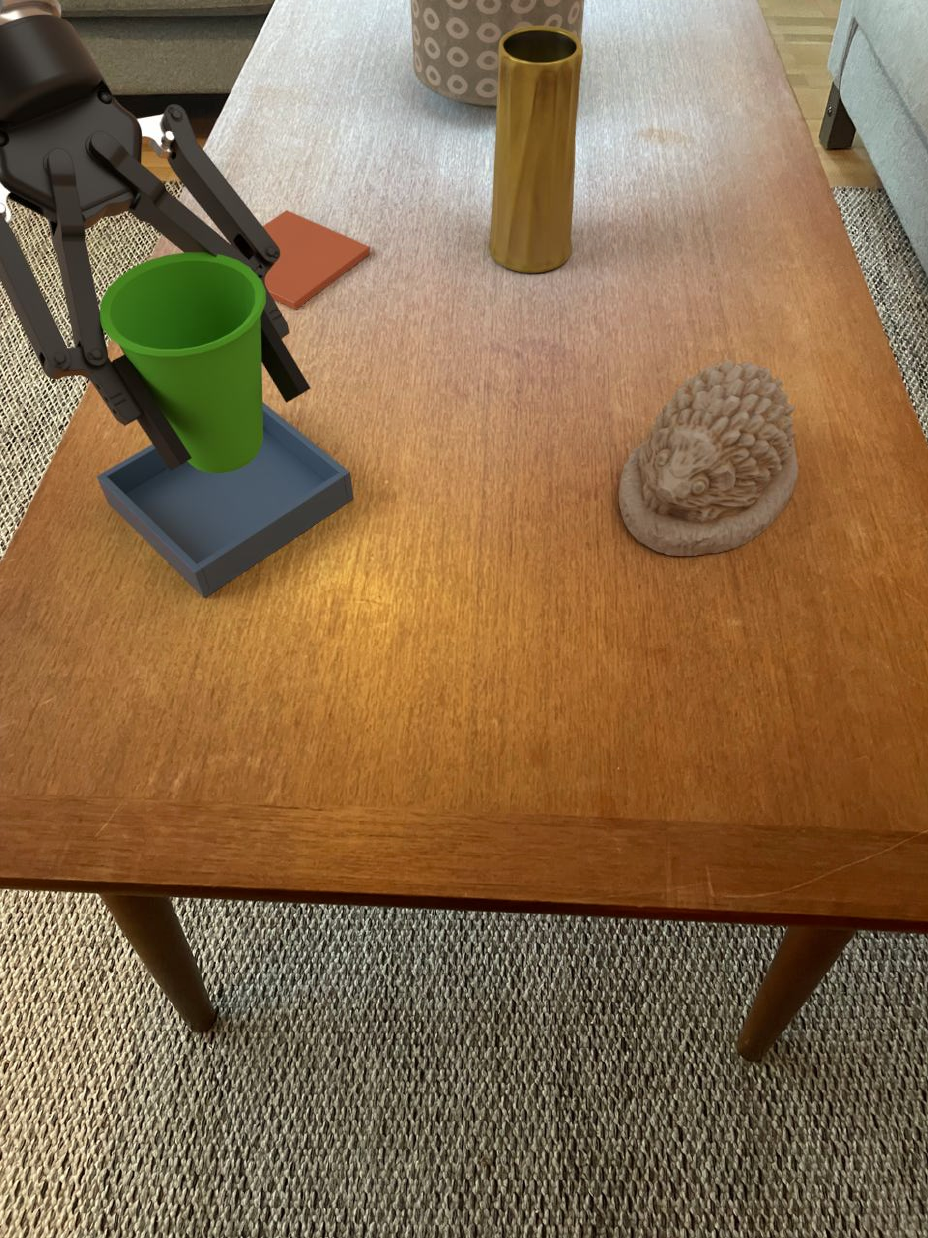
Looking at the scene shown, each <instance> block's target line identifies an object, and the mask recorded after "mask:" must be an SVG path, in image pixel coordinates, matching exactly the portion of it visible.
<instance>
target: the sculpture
mask: <svg viewBox="0 0 928 1238" xmlns="http://www.w3.org/2000/svg"><path fill="white" fill-rule="evenodd" d="M782 388H783V381H782V380H781V379H780V378H774V377H772V374H771V370H770V369H769V368H766V367H765V366H763V365H754V363H753V362H752V361H748V360H746V361H743V362H740V363H739V364H737V363H736V364H735V363H734V361H732V359H725V360H724V361H723V362H719V363H717V365H716V366H714V365H708V366H706V367H705V368H702V369H699V371H698V373H697V374H696V375H694V376H692V377H687V378H685V380H684V382H683V386H680V387H679V388H678V389H677V390H675V392H674V393H673V395H672V398H671V399H670V400H668V401H667V402H666V404H665V405H664V406H662V409H661V411H662V412H661V413H660V412H659V413H657V415H656V417H655V424H653V425H652V426H651V428H650V431H649V432H648V435H647V438H646V440H645V441H642V442H641V443H640V444H639V445H638V446H636V447H634V448H633V450H632V451H631V453H630V454H629V457H628V458H627V461H626V463H624V465H623V469H622V472H621V475H620V480H619V486H618V503H619V506H618V507H619V511H620V514H621V516H622V520H623V522H624V524H625V526H626V528H627V530H628V531H629V532H630V534H631V535H632V536H633V537H634V538H635V540H637V541H638V542H639V543H641V544H643V545H644V546H646V547H647V548H649V549H650V550H651V549H652V550H653V551H655V552H658V553H660V554H665V555H666V556H676V557H692V556H694V557H697V556H698V555H699V556H702V555H705V554H719V553H724V552H726V551H730V550H734V549H737V548H738V547H740V546H742V545H746V543H748V542H750V541H752V540H753V539H754V538H757V537H758V536H759V535H760V534H761V533H763V532H765V531H766V529H767V528H768V527H770V526H771V525H772V524H773V522H774V521H775V520H776V519H777V518H778V516H780V515H781V514H782V512H783V510H784V509H785V507H786V506H787V505H788V503H789V500H790V499H791V497H792V496H793V493H794V491H795V489H796V486H797V482H798V476H799V471H800V470H799V469H800V468H799V463H798V459H797V455H796V448H795V444H794V440H795V439H793V438H794V437H795V436H796V430H794V429H793V428H792V427H793V425H794V421H793V418H792V417H791V414H792V413H793V411H794V410H795V408H794V406H793V404H791V403H789V402H788V399H789V398H788V397H789V396H788V394H786V391H783V390H782Z"/></svg>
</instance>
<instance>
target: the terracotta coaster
mask: <svg viewBox="0 0 928 1238" xmlns="http://www.w3.org/2000/svg"><path fill="white" fill-rule="evenodd" d="M262 226H263V228H264V229H265V230H266V232H267V233H268V234H269V235H270V237H271V238H272V239H273V241H274V242H275V243H276V244H277V246H278V247H279V249H280V258H279V259H278V260H277V261H276V262H275V264H274V265H273V266H272V267H271V269H270V270H269V271H268V272H267V274H266V275H265V286H266V288H267V290H268V291H269V293H270V295H271V296H272V298H273V300H274V301H276V302H278V303H280V304H282V305H284V306H287V307H288V308H290V309H292V310H297V309H298V308H300V307H302V306H303V305H305V303H307V302H308V301H309V300H311V299H312V298H313V297H315V296H316V295H317V294H319V293H320V292H321V291H323V290H324V289H325V288H327V287H328V286H329V285H331V284H332V283H333V282H335V281H336V280H337V279H339V278H340V277H341V276H343V275H344V274H345V273H347V272H348V271H349V270H351V269H352V268H353V267H355V266H356V265H358V263H360V262H361V261H362V260H364V259H365V258H367V257H368V256H369V255H371V247H370V246H369V245H367V244H364V243H362V242H360V241H358V240H355V239H353V238H351V237H349V236H346V235H344V234H342V233H339V232H337V231H336V230H332V229H330V228H328V227H326V226H323V225H321V224H319V223H317V222H315V221H312V220H310V219H308V218H306V217H303V216H301V215H298V214H297V213H294V212H292V211H290V210H288V209H286V210H284V211H283V212H282V213H280V214H279V215H277V216H276V217H274V218H273V219H271V220H270V221H268V222H267V223H265V224H263V225H262Z"/></svg>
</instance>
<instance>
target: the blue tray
mask: <svg viewBox="0 0 928 1238" xmlns="http://www.w3.org/2000/svg"><path fill="white" fill-rule="evenodd" d="M262 408H263V442H262V445H261V448H260V450H259V453H258V454H257V456H256V457H255V458H254V459H253V460H252V461H251V462H250V463H249V464H247V465H246V466H244V467H242V468H240V469H238V470H235V471H232V472H227V473H208V472H203V471H201V470H199V469H196V468H195V467H194V466H192V465H191V464H190V463H189V462H187V461H186V462H185V463H183V464H182V465H180V466H178V467H177V468H175V469H173V470H171V471H170V470H169V468H168V467H167V465H166V464H165V462H164V461H163V459H162V458H161V456H160V455H159V453H158V451H157V450H156V448H155V447H154V445H153V444H152V443H151V444H149V445H148V446H146V447H145V448H143V449H141V450H140V451H138V452H136V453H134V454H132V455H131V456H129V457H128V458H126V459H124V460H122V461H120V462H119V463H117V464H115V465H113V466H112V467H110V468H108V469H106V470H105V471H103V472H101V473H99V474H97V475H96V479H97V481H98V483H99V486H100V489H101V491H102V492H103V494H104V495H103V496H104V497H105V500H106V502H107V504H108V505H109V506H110V507H112V509H114V511H115V512H116V513H118V514H119V515H120V517H122V518H123V519H124V520H125V522H126V523H128V525H130V526H131V527H132V528H133V529H134V530H135V532H136V533H138V534H139V535H140V536H141V537H142V538H143V540H145V541H146V542H147V543H148V544H149V545H150V546H151V547H152V548H153V550H155V552H157V553H158V554H159V555H160V556H161V557H162V558H163V559H164V560H165V561H166V562H167V563H168V564H169V565H170V566H171V567H172V568H173V569H174V570H175V571H176V572H177V573H178V574H179V575H180V576H181V577H182V578H183V579H184V580H185V581H186V582H187V583H188V584H189V585H190V586H191V587H192V588H193V589H194V590H195V591H196V592H197V593H198V594H199V595H200V596H201V597H202V598H203V599H206V598H207V597H209V596H211V595H212V594H213V593H215V592H216V591H218V590H219V589H221V588H222V587H224V586H226V585H227V584H229V583H230V582H231V581H233V580H234V579H236V578H237V577H239V576H240V575H242V574H243V573H245V572H246V571H248V570H249V569H251V568H252V567H254V566H255V565H257V564H258V563H260V562H262V561H263V560H265V559H266V558H267V557H269V556H270V555H272V554H273V553H275V552H276V551H279V550H280V549H281V548H282V547H284V546H285V545H287V544H289V543H290V542H292V541H293V540H295V539H296V538H297V537H299V536H300V535H302V534H303V533H305V532H307V531H308V530H309V529H311V528H312V527H314V526H315V525H317V524H318V523H320V522H321V521H323V520H325V519H326V518H328V517H329V516H331V515H332V514H334V513H335V512H336V511H338V510H340V509H341V508H342V507H344V506H346V505H347V504H348V503H350V502H351V501H353V500H354V499H355V497H354V492H353V483H352V475H351V472H350V471H349V470H348V469H347V468H346V467H345V466H343V465H341V463H339V462H338V461H337V460H336V459H334V458H333V457H332V456H331V455H329V454H328V453H327V452H325V450H323V449H322V448H320V446H318V445H317V444H316V443H315V442H314V441H312V440H311V439H309V437H307V436H306V435H305V434H303V433H302V432H301V431H300V430H299V429H297V428H296V427H294V426H293V425H292V424H291V423H290V422H288V420H286V419H284V417H282V416H281V415H280V414H278V412H276V411H275V410H273V408H271V407H270V406H268V405H267V404H266V403H265V402H264V401H262Z"/></svg>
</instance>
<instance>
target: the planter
mask: <svg viewBox="0 0 928 1238" xmlns="http://www.w3.org/2000/svg"><path fill="white" fill-rule="evenodd" d="M584 9H585V0H410V18H411V19H410V20H411V38H412V39H411V41H412V59H413V60H412V62H413V63H412V64H413V71H414V73H415V76H416V78H417V79H418V80H419V81H420V83H421V84H422V85H423V86H425V87H426V88H427V89H429V90H430V91H431V92H433V93H435V94H437V95H439V96H442V97H444V98H446V99H450V100H453V101H457V102H460V103H463V104H466V105H470V106H474V107H477V108H483V109H495V110H497V87H498V48H499V42H500V40H501V38H502V37H503V36H504V35H505V34H507V33H508V32H510V31H512V30H514V29H517V28H521V27H527V26H550V27H557V28H561V29H564V30H567V31H569V32H571V33H573V34H574V35H576V36H577V37H578V38H579V39H580V41H581V42H582V36H583V34H582V33H583V22H584V11H585V10H584Z"/></svg>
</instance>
